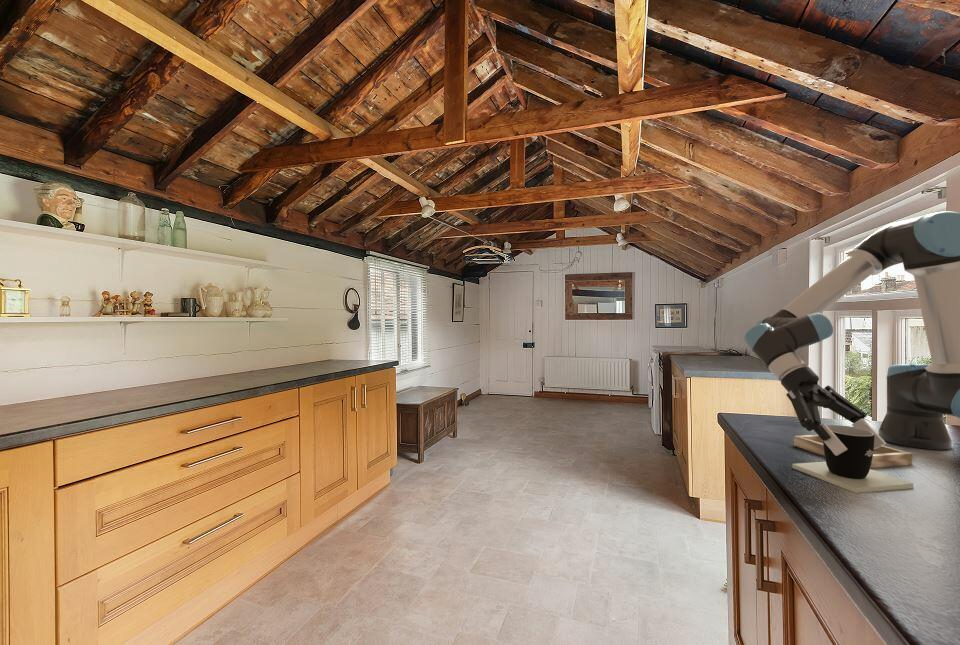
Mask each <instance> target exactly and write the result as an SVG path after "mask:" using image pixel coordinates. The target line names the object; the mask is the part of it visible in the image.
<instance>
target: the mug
mask: <svg viewBox="0 0 960 645" xmlns="http://www.w3.org/2000/svg"><path fill="white" fill-rule="evenodd" d="M826 425H827V424H826ZM827 426H828V427H829V428H830V430H831V431H832V432H833V433H834V434H835V435H836V436H837V438H838V439H839V440H840V441H841V442H842V443H843V444H844V445H845V447H846V448H847V449H848V450H846V451H844V452H843V453H841V454H839V455H837V456H836V455H835V454H834V453H833V452H832V451H831V450H830V448H829V447H828V446H827V445H826V444H825V442H824V441H823V446H824V454H825V456H824V460H825V462H826V464H827V467H828V469H829V471H830V472H831V473H833V474H835V475H838V476H841V477H845V478H851V479H863V478H865V477H866V476H867V475H868V473H869V470H870V469H871V468H870V467H871V463H872V457H873V451H874V440H875V436H874V433H873V432H871V431H868V430H865V429H861V428H856V427H853V426H850V425H841V424H829V425H827Z"/></svg>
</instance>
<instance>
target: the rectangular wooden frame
mask: <svg viewBox="0 0 960 645" xmlns="http://www.w3.org/2000/svg"><path fill="white" fill-rule="evenodd" d="M793 446H794V447H796V446H797V448H801V449H803V450H806V451H808V452H812V453H814V454H816V455H817V454H818V455H820V456H824V457H825V454H824V446H823V440H822V439H821V438H820V437H819V436H818V435H817V434H808V435H807V434H806V435H794V436H793ZM909 465H910V466H911V465H912V466H913V453H911V452H909V451H905V450H901V449H897V448H894V447H889V446H886V445H882V446H880V447H878V448H877V449H874V451H873V457H872V463H871V467H870V469H873V468H884V467H896V466H909Z"/></svg>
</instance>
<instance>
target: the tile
mask: <svg viewBox="0 0 960 645" xmlns="http://www.w3.org/2000/svg"><path fill="white" fill-rule="evenodd" d="M791 465H792V467H791V468H792V469H794V470H796V471H799V472H802V473H805V474H807V475H809V476H812V477H815V478H817V479H819V480H822V481H824V482H828V483H829V484H832V485H835V486H837V487H840V488H843V489H845V490H847V491H850V492H852V493H855V494H859V493H861V494H862V493H869V492H870V493H873V492H883V491H893V490H894V491H895V490H896V491H897V490H906V489H908V490H909V489H914V485H915V484H914V482H910V481H908V480H907V481H906V480H904V479H900V478H898V477H895V476H892V475H889V474H886V473H883V472H881V471H878V470H875V469H873V468H870V470H869V473H868V475H867V476H866V477H865V478H863V479H851V478H845V477H841V476H838V475H835V474H833V473H831V472H830V471H829V469H828V467H827V464H826V461H816V462H814V461H813V462H801V463H798V462H797V463H792V464H791Z"/></svg>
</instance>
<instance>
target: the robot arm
mask: <svg viewBox="0 0 960 645" xmlns="http://www.w3.org/2000/svg"><path fill="white" fill-rule="evenodd" d="M846 257H847V258H845V259H844V260H842V262H840V263H839V264H837V265H836V266H834V268H832V269H830V270H829V272H828V273H826V274H824V276H822V277H821V278H820V279H819V280H817V281H816V282H814V283H813V284H812V285H811V286H809V287H808V288H807V289H806V290H804V291H803V292H801V293H800V295H798V296H797V297H795V298H794V299H792V300H791V301H790V302H789V303H788V304H786V305H785V306H784V307H782V309H780V310H778V311H777V312H776V313H774V314H773V315H772V316H767V317H764V318H761V319H760V320H759V321H757V323H756V325H754V326H752V327H751V328H749V329H748V330H747V332H746V333H745V334H744V336H743V337H744V341H745V343H746V344H747V346H748V347H749V349H750V350H751V352H752V353H754V354H755V355H756V357H758V359H759V360H760V361H761V363H763V364H764V365H765V366H766V368H767V369H768V370H769V371H770V372H771V373H772V376H774V377H775V378H776V380H778V381H779V382H780V384H781V385H782V387H783V388H784V389H785V390H786V391H787V393H786V394H785V395H786V397H787V399H788V400H789V401H790V402H791V404H792V407H793V409H794V412H795V415H796V416H797V419H798V422H799V423H800V426H801V427H802V428H804V429H806V431H808V432H811V431H813V432H815V433H816V435H818V436H819V437H820V438H821V439H822V440H823V441H824V442H825V444H826V445H827V446H828V447H829V448H830V450H831V451H832V452H833V453H834V454H835V455H836V456H837V455H839V454H841V453H843V452H844V451H846V450H848V449H847V448H846V447H845V445H844V444H843V443H842V442H841V441H840V440H839V439H838V438H837V436H836V435H835V434H834V433H833V432H832V431H831V430H830V428H829V427H828V426H827V424H826V423H822V420H821V415H820V410H819V408H820V407H821V408H823V409H828V410H831V411H832V412H833V413H836V414H837V415H839V416H840V417H842V418H844V419H846V420H847V421H849V422H851V423H852V424H851V427H856V428H861V429H865V430H868V431H871V432H873V433H874V436H875V440H874V449H877V448H878V447H880V446H882V445H883V446H885V444H886V443H887V442H888V443H892V444H894V445H895V444H896V445H900V446H905V447H911V448H918V449H925V450H936V451H940V450H942V451H943V450H950V449H952V445H953V444H952V438H951V436H950V434H949V431H948V429H947V426H946V423H945V421H944V415H946V416H947V415H948V416H950V417H955V418H958V419H960V212H957V211H950V210H949V211H945V210H944V211H939V212H932V213H927V214H924V215H919V216H916V217H911V218H908V219H904V220H900V221H896V222H893V223H892V222H891V223H889V224H887V225H885V226H883V227H882V228H879V229H878V230H876V231H875V232H874V233H872V234H870V235H869V236H868V237H866V238H865V239H863V240H862V241H861V242H860V243H859V244H857V245H856V246H855V247H853V248H852V249H851V250H849V251H848V252H847V256H846ZM898 264H899V265H900V264H902V266H903V269H904V272H906V273H908V274H911V275H912V276H913V279H914V283H915V287H916V292H917V293H916V294H917V296H918V301H919V307H920V311H921V316H922V320H923V322H922V323H923V325H924V329H925V330H924V331H925V334H926V340H927V345H928V349H929V354H930V358H931V362H930V363H928V364H925V363H924V364H923V363H921V364H920V363H918V364H913V363H912V364H911V363H909V364H908V363H907V364H902V363H901V364H891V365H889V367H888V368H887V372H886V373H887V375H886V378H885V379H886V413H885V416H884V417H883V419H882V422H881V424H880V427H879V428H878V433H877V432H876V431H875V429H874V428H873V427H871V426H870V424H869V423H868V422H867V421H866V420H865V418H866V417H867V416H868V415H867V413H866V412H865V411H864V410H862V409H860V408H859V407H858V406H857V405H856V404H854V403H852V402H851V401H850V400H848V399H847V398H845V397H843V395H841V394H840V393H838V392H837V391H836V390H835V389H834V388H833V387H831V386H830V385H826V386H825V387H822V386H820V385H819V384H818V383H819V380H820V377H819V376H818V375H817V374H816V372H814V370H813V369H812V368H810V367H809V366H808V364H807V363H806V362H805V361H804V360H803V359H802V358H801V357H800V355H798V353H797V352H796V351H798V350H801V349H804V348H807V347H809V346H811V345H814V344H817V343H821V342H822V341H824V340H827V339H828V338H830V337H832V336H833V334H834V327H833V325H832V322H831V320H830V319H829V318H828V317H827V316H826V315H824V314H823V312H824V311H825V310H827V309H828V308H830V307H831V306H832V305H833V304H835V303H836V302H837V301H839V300H840V299H842V297H844V296H845V295H846V294H848V293H849V292H851V291H852V290H853V289H854V288H856V287H857V286H858V285H860V284H861V283H862V282H864V281H865V280H866V279H867V278H869V277H870V276H876V275H879V274H881V273H882V272H883V271H884V270H886V269H888V268H891V267H893V266H895V265H898Z"/></svg>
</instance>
